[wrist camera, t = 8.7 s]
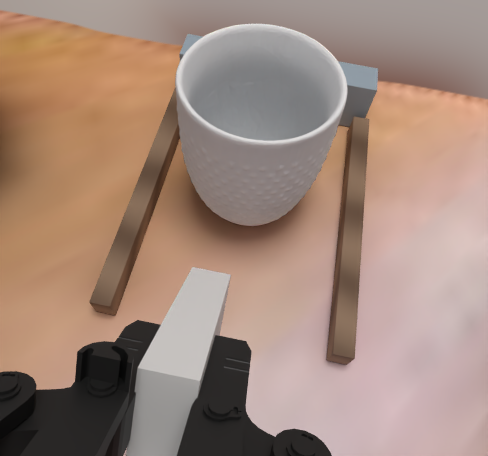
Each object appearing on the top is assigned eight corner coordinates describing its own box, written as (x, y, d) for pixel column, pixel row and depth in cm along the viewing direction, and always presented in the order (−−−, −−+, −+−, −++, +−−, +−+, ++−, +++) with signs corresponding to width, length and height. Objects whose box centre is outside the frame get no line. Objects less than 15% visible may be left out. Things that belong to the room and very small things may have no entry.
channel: (346, 364, 31) (354, 358, 29) (96, 311, 32) (89, 302, 30) (362, 133, 42) (369, 119, 40) (178, 98, 43) (177, 83, 41)
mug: (252, 106, 43) (265, -23, 32) (348, 156, 41) (400, 35, 29) (160, 206, 36) (136, 89, 25) (268, 273, 34) (295, 176, 23)
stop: (360, 128, 42) (376, 90, 38) (182, 95, 43) (179, 53, 39) (361, 107, 44) (378, 68, 40) (190, 75, 45) (187, 33, 40)
